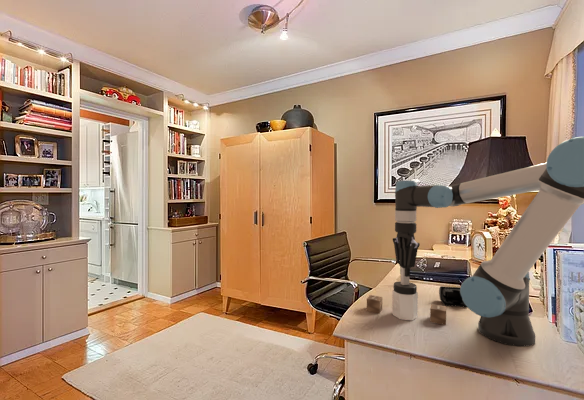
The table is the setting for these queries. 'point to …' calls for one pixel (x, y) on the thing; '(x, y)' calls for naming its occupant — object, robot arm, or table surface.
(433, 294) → the table surface
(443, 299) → the end cap
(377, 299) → the walnut block
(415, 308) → the jar
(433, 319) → the walnut block
